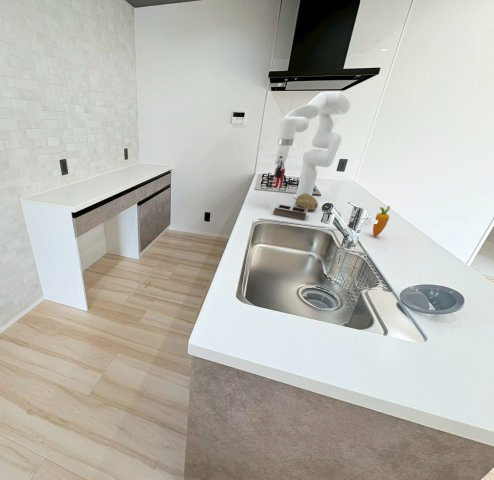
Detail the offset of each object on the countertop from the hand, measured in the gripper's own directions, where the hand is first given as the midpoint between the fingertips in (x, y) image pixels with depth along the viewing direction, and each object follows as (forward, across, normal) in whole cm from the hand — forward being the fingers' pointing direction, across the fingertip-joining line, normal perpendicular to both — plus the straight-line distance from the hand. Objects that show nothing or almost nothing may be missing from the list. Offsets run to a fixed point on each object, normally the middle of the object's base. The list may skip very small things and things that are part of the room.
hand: (278, 176), depth 146 cm
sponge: (+20, -15, +17) cm, 30 cm away
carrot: (+20, +14, +50) cm, 55 cm away
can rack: (+19, +6, +11) cm, 23 cm away
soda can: (+7, 0, 0) cm, 7 cm away
